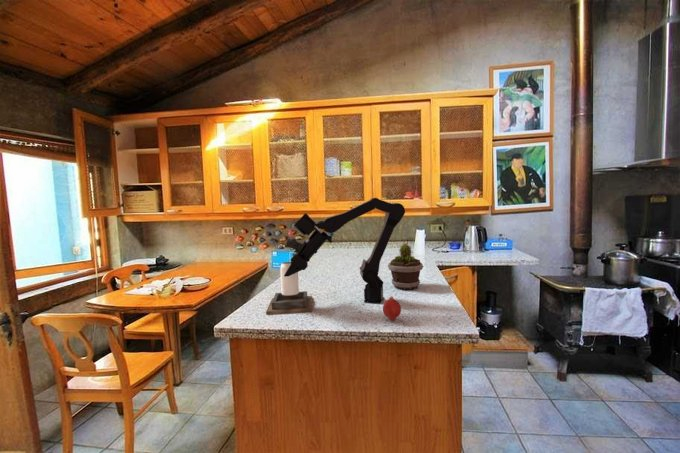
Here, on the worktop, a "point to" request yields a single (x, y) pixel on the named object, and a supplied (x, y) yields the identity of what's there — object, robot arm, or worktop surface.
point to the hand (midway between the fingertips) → (285, 274)
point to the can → (288, 281)
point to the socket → (290, 303)
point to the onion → (391, 309)
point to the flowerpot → (405, 269)
